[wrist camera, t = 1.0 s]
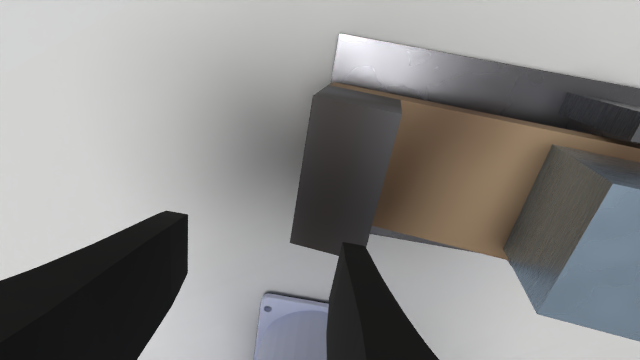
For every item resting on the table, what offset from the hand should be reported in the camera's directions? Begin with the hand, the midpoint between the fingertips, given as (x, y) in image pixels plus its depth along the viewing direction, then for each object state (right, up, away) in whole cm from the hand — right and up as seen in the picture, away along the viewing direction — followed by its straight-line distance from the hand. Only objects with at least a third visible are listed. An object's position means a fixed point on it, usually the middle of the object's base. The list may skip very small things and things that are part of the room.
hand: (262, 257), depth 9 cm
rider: (+13, +1, +4) cm, 13 cm away
